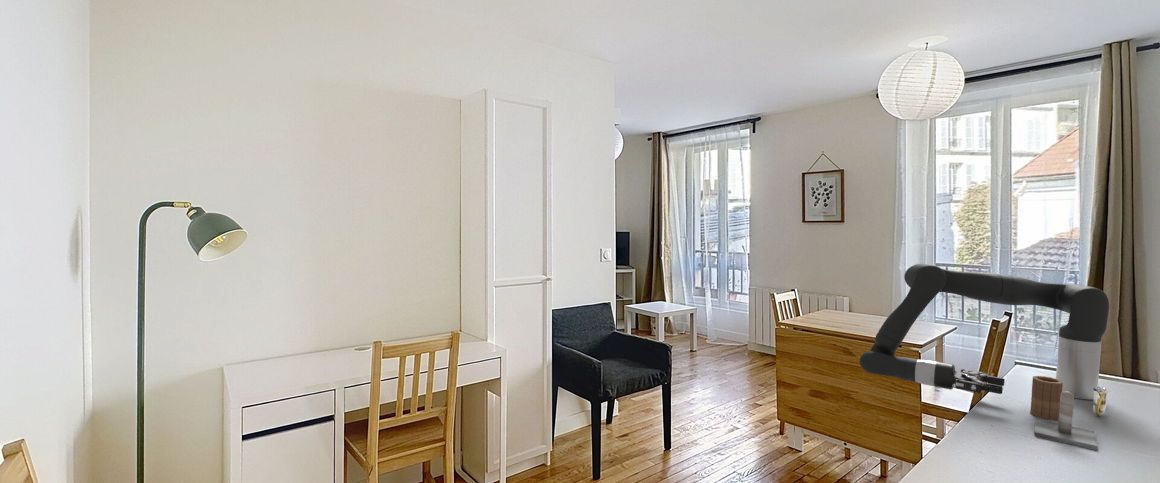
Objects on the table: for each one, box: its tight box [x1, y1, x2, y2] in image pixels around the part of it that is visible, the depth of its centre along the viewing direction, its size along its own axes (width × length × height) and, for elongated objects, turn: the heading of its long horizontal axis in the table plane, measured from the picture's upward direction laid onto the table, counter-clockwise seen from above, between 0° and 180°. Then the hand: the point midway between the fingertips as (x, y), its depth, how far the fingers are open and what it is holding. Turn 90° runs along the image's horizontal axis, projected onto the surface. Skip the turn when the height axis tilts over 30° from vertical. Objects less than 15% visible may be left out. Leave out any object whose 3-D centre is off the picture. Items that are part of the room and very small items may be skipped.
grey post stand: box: [1034, 391, 1099, 451], centre depth 128 cm, size 11×11×11 cm
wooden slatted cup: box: [1030, 375, 1063, 421], centre depth 140 cm, size 6×6×10 cm
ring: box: [1092, 385, 1110, 417], centre depth 141 cm, size 7×3×8 cm, turn 117°
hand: (1003, 386), depth 146 cm, fingers open, 8 cm apart
